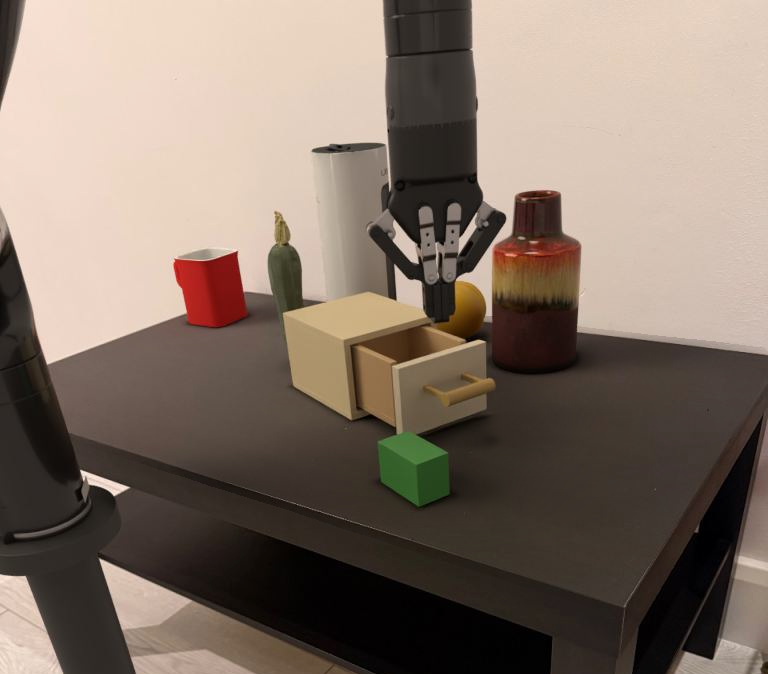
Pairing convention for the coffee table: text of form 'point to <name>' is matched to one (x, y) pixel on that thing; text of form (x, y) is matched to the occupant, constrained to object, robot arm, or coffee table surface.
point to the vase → (535, 288)
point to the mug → (211, 286)
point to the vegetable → (284, 272)
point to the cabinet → (341, 343)
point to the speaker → (352, 218)
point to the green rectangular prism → (414, 468)
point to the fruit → (465, 311)
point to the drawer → (420, 378)
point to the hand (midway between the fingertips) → (439, 320)
